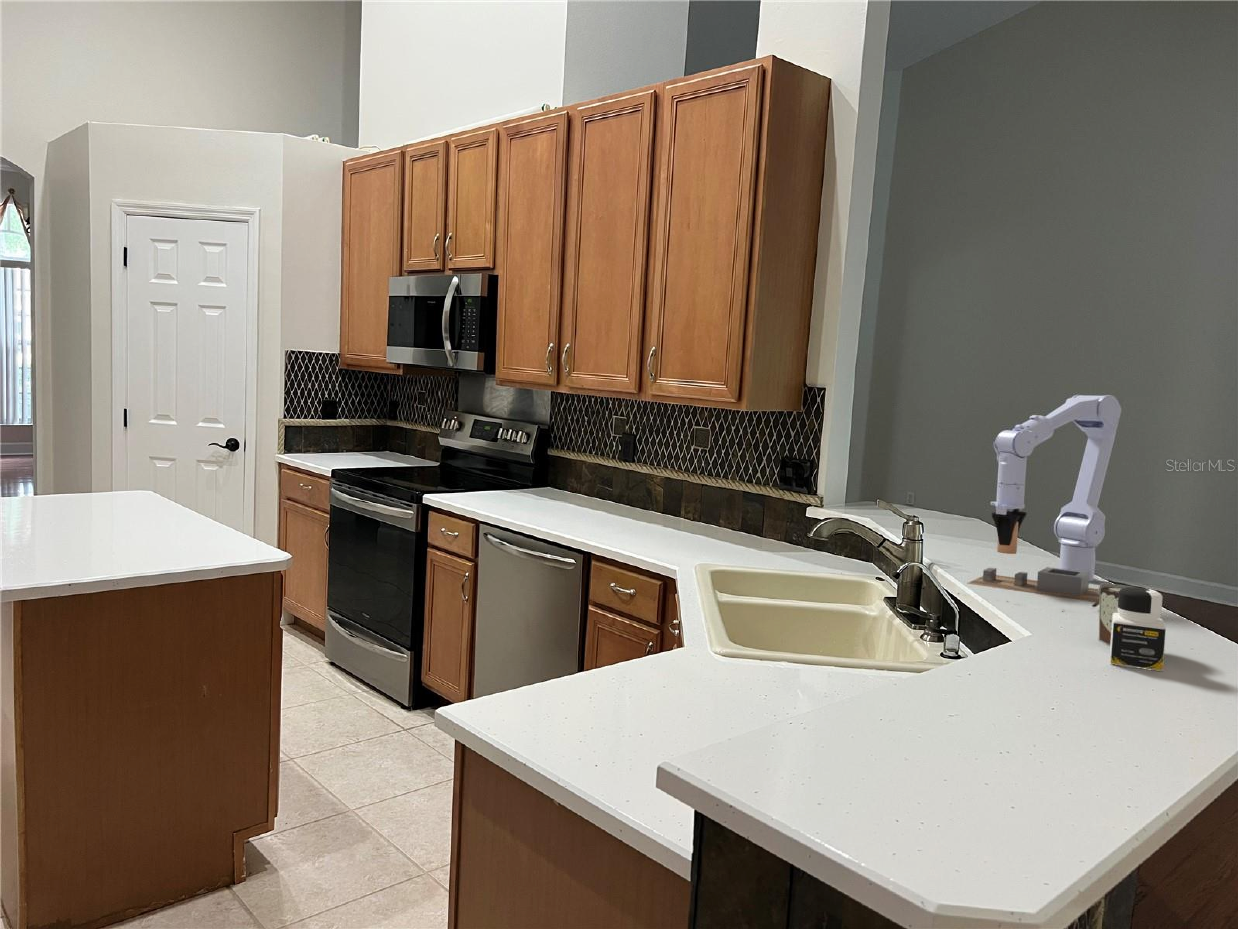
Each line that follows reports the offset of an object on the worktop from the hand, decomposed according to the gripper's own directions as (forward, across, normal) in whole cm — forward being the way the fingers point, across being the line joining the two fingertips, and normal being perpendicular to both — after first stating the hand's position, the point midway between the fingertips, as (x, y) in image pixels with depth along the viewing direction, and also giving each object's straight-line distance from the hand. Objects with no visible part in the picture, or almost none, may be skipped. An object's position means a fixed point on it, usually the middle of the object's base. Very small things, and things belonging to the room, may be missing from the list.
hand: (1007, 543), depth 205 cm
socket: (+10, 0, +12) cm, 15 cm away
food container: (+10, +41, +31) cm, 52 cm away
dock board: (+10, 0, +7) cm, 12 cm away
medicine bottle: (+10, +51, +33) cm, 62 cm away
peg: (+2, 0, 0) cm, 2 cm away
